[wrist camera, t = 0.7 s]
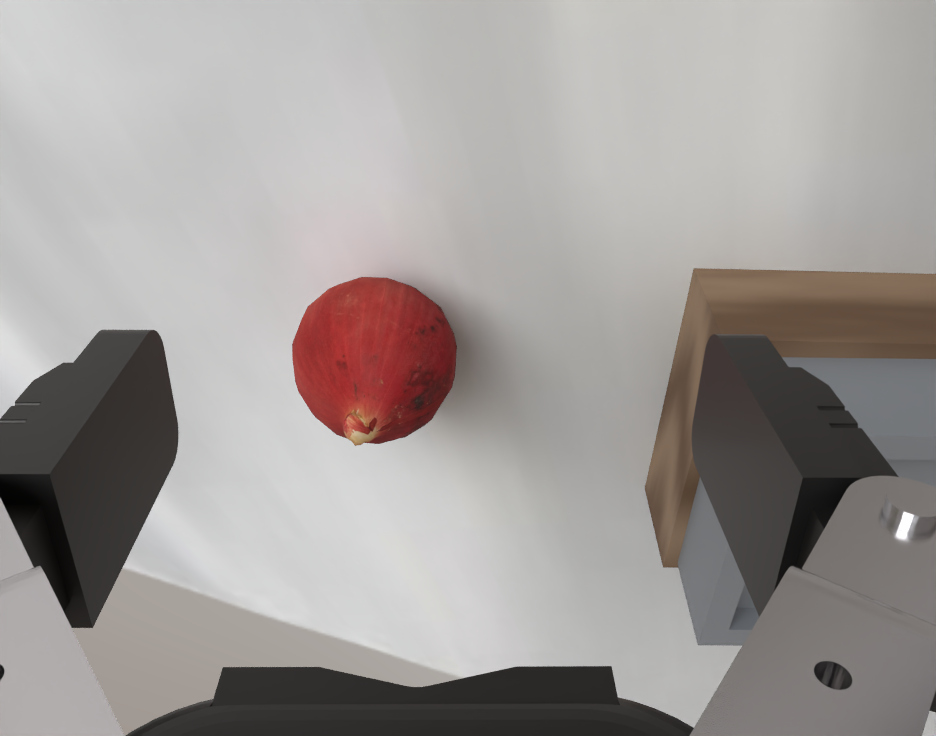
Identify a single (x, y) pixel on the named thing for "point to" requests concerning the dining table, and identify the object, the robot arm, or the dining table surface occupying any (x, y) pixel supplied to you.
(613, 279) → the dining table surface
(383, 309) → the onion
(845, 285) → the bottom block
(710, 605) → the top block
